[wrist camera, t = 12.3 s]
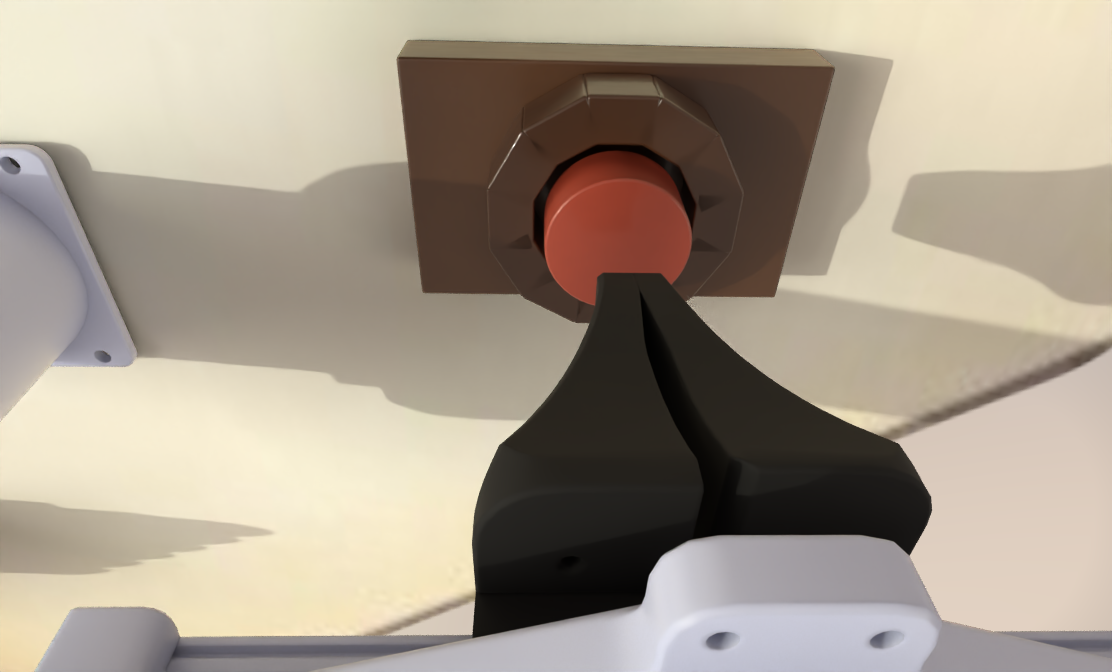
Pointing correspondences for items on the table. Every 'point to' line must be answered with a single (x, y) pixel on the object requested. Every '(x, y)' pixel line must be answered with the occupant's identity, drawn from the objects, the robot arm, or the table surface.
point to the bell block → (597, 126)
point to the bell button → (614, 222)
